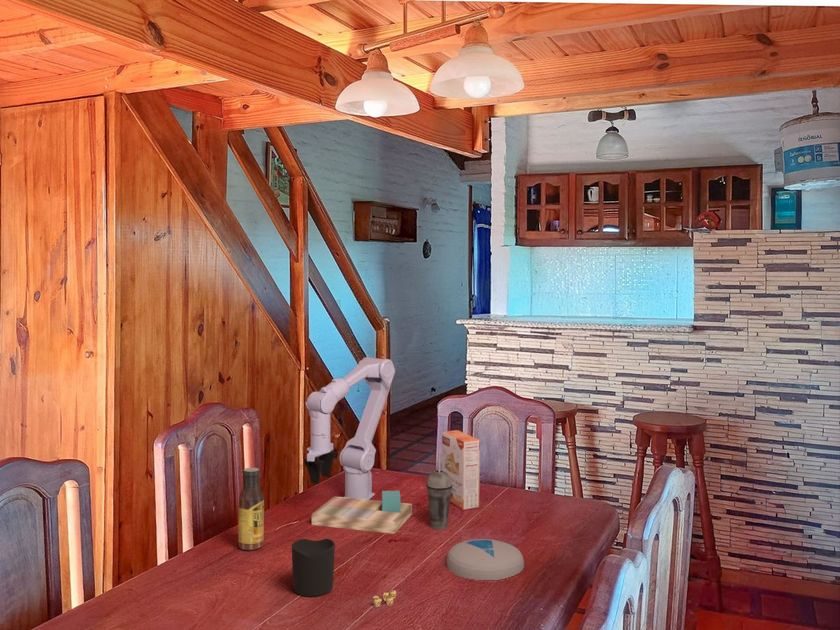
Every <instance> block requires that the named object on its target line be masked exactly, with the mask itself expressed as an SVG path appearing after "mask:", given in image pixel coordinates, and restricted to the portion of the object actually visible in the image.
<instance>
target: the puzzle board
mask: <svg viewBox="0 0 840 630" xmlns="http://www.w3.org/2000/svg"><path fill="white" fill-rule="evenodd" d="M412 514H413V504H412V503H406V502H405V503H404V502H400V513H397V512H387V511H382V500H376V499H375V500H374V499H369V500H366V499H356V498H346V497H344V496H337V495H335V496H332V497H331V498H330V499H329V500H328V501H327V502H325V503H323V504H322V505H321V506H320V507H319V508H317V509H316V510H315V511H314V512H312V513H311V525H313V526H321V527H329V528H337V529H347V530H356V531H357V530H358V531H364V532H375V533H381V534H382V533H383V534H393V535H395V534H396V533H397V532H398V531H399V529H400V528H401V527H402V526H404V524H405V523H406V522H407V520H409V518H410V517H411V516H412Z"/></svg>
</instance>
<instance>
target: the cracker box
mask: <svg viewBox="0 0 840 630" xmlns="http://www.w3.org/2000/svg"><path fill="white" fill-rule="evenodd" d="M441 434H442V436H441V438H442V440H441V443H442V444H441V447H442V448H441V455H442V456H441V459H442V460H441V471H444V472H446V473H447V474H448V475H449V476H450V478H451V481H452V486H453V487H452V491H451V494H450V503H451V504H453V505H455V507H457V508H459V509H461V510H462V511H466V510H468V511H469V510H473V509H479V508H480V463H481V462H480V461H481V459H480V458H481V457H480V456H481V452H480V451H481V450H480V449H481V443H480V441H481V440H480V439H478V438H476V437H474V436H472V435H470V434H468V433H465V432H463V431H462V430H459V429H457V430H456V429H454V430H445V431H442V432H441Z"/></svg>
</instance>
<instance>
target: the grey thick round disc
mask: <svg viewBox="0 0 840 630" xmlns="http://www.w3.org/2000/svg"><path fill="white" fill-rule="evenodd" d="M446 567H447V569H448V571H450V573H452V574H454V575H456V576H458V577H461V578H463V577H464V578H463V579H467V578H468V580H471V579H475V580H474V581H477V580H500V579H505V578H508V577H511V576H514V575H516V574H518V573H520V572H521V571H522V570H523V568H524V569H525V560H524V556H523V554H522V551H520V550H519V548H517V547H516V546H514V545H512V544H511V543H510V544H509V543H507V542H504V541H500V540H497V539H488V538H479V539H477V538H475V539H468V540H465V541H461V542H458V543H456V544H454V545H453V546H452V547H451V549H450V550H448V553H447V555H446ZM523 571H524V570H523Z"/></svg>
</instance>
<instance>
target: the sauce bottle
mask: <svg viewBox="0 0 840 630" xmlns="http://www.w3.org/2000/svg"><path fill="white" fill-rule="evenodd" d="M242 472H243V488H242V490H241V492H240V494H239V496H238V497H239V498H238V520H237V521H238V522H237V523H238V524H237V525H238V527H237V528H238V529H237V530H238V531H237V533H238V534H237V536H238V537H237V538H238V546H239V549H241V550H242V551H255V550H258V549H260V548H262V547H263V544H264V530H265V528H264V526H265V523H264V522H265V519H264V518H265V514H264V513H265V511H264V510H265V499H264V496H263V494H262V493H263V492H262V491H261V487H260V474H261V473H260V469H259V468H258V467H247V468H244V469H243V470H242Z"/></svg>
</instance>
